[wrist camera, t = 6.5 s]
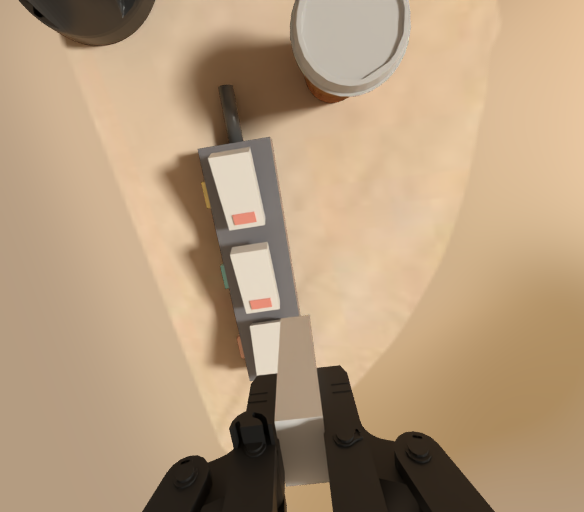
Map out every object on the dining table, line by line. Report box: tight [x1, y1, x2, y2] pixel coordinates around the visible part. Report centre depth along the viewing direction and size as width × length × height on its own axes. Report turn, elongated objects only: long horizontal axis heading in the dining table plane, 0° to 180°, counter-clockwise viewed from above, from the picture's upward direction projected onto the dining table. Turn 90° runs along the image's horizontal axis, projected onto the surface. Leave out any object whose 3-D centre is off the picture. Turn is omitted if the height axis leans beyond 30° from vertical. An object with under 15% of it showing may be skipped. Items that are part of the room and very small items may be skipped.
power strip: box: [198, 85, 300, 381], centre depth 38 cm, size 36×8×5 cm, turn 9°
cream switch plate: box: [230, 242, 280, 314], centre depth 35 cm, size 8×4×2 cm, turn 9°
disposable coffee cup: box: [290, 0, 411, 103], centre depth 29 cm, size 10×10×12 cm
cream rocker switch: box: [250, 319, 281, 375], centre depth 38 cm, size 8×4×2 cm, turn 8°
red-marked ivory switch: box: [208, 147, 265, 231], centre depth 32 cm, size 8×4×2 cm, turn 9°
